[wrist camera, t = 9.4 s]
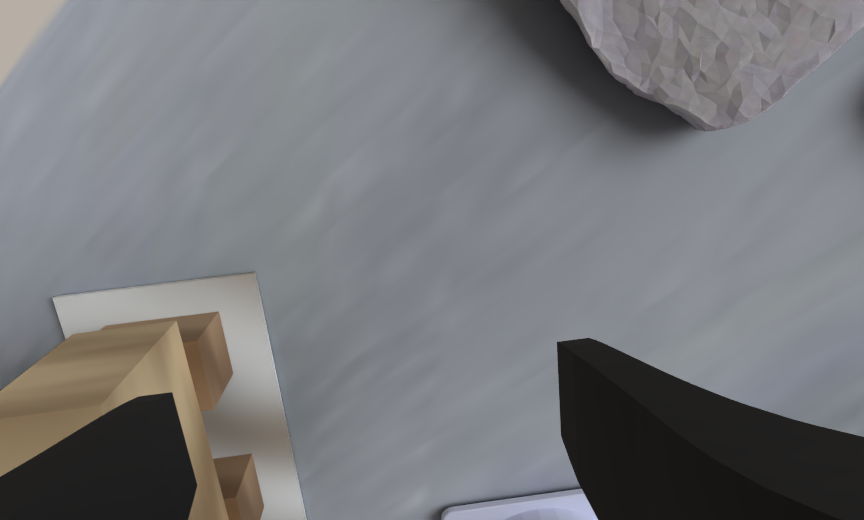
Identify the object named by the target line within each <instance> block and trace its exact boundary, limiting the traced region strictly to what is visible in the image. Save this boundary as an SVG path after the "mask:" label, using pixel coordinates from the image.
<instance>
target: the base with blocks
mask: <svg viewBox="0 0 864 520" xmlns="http://www.w3.org/2000/svg"><path fill="white" fill-rule="evenodd" d="M52 299H53V302H54V305H55V308H56V311H57V314H58V317H59V320H60V324H61V327H62V330H63V333H64V336H65V339H67V338H68V337H70V336H71V335H72V334H77V333H85V332H93V331H100V330H108V329H116V328H123V327H131V326H139V325H146V324H154V323H162V322H170V321H177V324H178V328H179V332H180V336H181V339H182V343H183V347H184V351H185V355H186V358H187V362H188V366H189V370H190V374H191V377H192V381H193V385H194V389H195V393H196V396H197V400H198V404H199V408H200V412H201V415H202V419H203V423H204V427H205V431H206V434H207V438H208V442H209V446H210V450H211V453H212V457H213V461H214V465H215V468H216V472H217V476H218V480H219V484H220V487H221V491H222V495H223V499H224V503H225V506H226V510H227V514H228V518H229V520H307V518H306V513H305V509H304V504H303V499H302V494H301V489H300V485H299V480H298V475H297V470H296V465H295V460H294V456H293V451H292V446H291V441H290V436H289V432H288V427H287V422H286V417H285V412H284V407H283V403H282V398H281V393H280V388H279V383H278V379H277V374H276V369H275V364H274V359H273V354H272V350H271V345H270V340H269V335H268V330H267V326H266V321H265V316H264V311H263V306H262V301H261V297H260V292H259V287H258V282H257V277H256V273H255V272H249V273H240V274H232V275H224V276H216V277H208V278H200V279H191V280H183V281H175V282H167V283H159V284H150V285H142V286H134V287H126V288H118V289H110V290H101V291H93V292H85V293H77V294H69V295H60V296H55V297H53V298H52Z"/></svg>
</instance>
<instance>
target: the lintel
mask: <svg viewBox="0 0 864 520" xmlns="http://www.w3.org/2000/svg"><path fill="white" fill-rule="evenodd" d="M169 392H172V393H173V397H174V401H175V404H176V408H177V412H178V415H179V419H180V423H181V426H182V430H183V434H184V437H185V441H186V445H187V449H188V452H189V456H190V460H191V463H192V467H193V471H194V474H195V478H196V482H197V489H196V493H195V496H194V500H193V504H192V508H191V511H190V515H189V518H188V520H229V518H228V514H227V510H226V506H225V503H224V499H223V495H222V491H221V487H220V484H219V480H218V476H217V472H216V468H215V465H214V461H213V457H212V453H211V450H210V446H209V442H208V438H207V434H206V431H205V427H204V423H203V419H202V415H201V412H200V408H199V404H198V400H197V396H196V393H195V389H194V385H193V381H192V377H191V374H190V370H189V366H188V362H187V358H186V355H185V351H184V347H183V343H182V339H181V336H180V332H179V328H178V324H177V321H170V322H162V323H154V324H146V325H139V326H131V327H123V328H116V329H108V330H100V331H93V332H85V333H77V334H72V335H71V336H70V337H68V338H67V339H66V340H65V341H63V342H62V343H61V344H59V345H58V346H57V347H56V348H54V349H53V350H52V351H51V352H49V353H48V354H47V355H45V356H44V357H43V358H42V359H40V360H39V361H38V362H37V363H35V364H34V365H33V366H32V367H30V368H29V369H28V370H26V371H25V372H24V373H23V374H21V375H20V376H19V377H18V378H16V379H15V380H14V381H12V382H11V383H10V384H9V385H7V386H6V387H5V388H4V389H2V390H1V391H0V476H2V475H4V474H6V473H7V472H9V471H11V470H13V469H14V468H16V467H18V466H19V465H21V464H23V463H25V462H26V461H28V460H30V459H32V458H33V457H35V456H37V455H38V454H40V453H41V452H43V451H45V450H46V449H48V448H50V447H51V446H53V445H54V444H56V443H58V442H59V441H61V440H63V439H64V438H66V437H68V436H69V435H71V434H72V433H74V432H76V431H77V430H79V429H81V428H82V427H84V426H86V425H87V424H89V423H90V422H92V421H94V420H95V419H97V418H99V417H100V416H102V415H104V414H106V413H107V412H109V411H111V410H113V409H114V408H116V407H118V406H120V405H122V404H124V403H126V402H128V401H130V400H132V399H134V398H136V397H139V396H146V395H154V394H161V393H169Z"/></svg>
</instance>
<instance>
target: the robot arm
mask: <svg viewBox="0 0 864 520" xmlns="http://www.w3.org/2000/svg"><path fill="white" fill-rule="evenodd" d="M557 352H558V375H559V397H560V420H561V436H562V439H563V442H564V445H565V448H566V450H567V453H568V456H569V459H570V462H571V464H572V467H573V469H574V472H575V475H576V477H577V480H578V482H579V484H580V486H581V488H582V489H575V490H568V491H560V492H553V493H546V494H539V495H532V496H525V497H518V498H511V499H504V500H496V501H489V502H482V503H475V504H468V505H461V506H454V507H450V508H447V509H446V510H444V511H443V513H442V515H441V520H864V437H861V436H857V435H853V434H849V433H845V432H840V431H836V430H832V429H828V428H824V427H819V426H815V425H811V424H808V423H804V422H800V421H797V420H793V419H790V418H786V417H783V416H780V415H777V414H773V413H770V412H767V411H764V410H761V409H758V408H755V407H751V406H748V405H745V404H742V403H739V402H737V401H734V400H731V399H728V398H726V397H723V396H720V395H718V394H715V393H713V392H710V391H708V390H705V389H703V388H700V387H698V386H695V385H693V384H690V383H688V382H686V381H683V380H681V379H679V378H677V377H674V376H672V375H670V374H668V373H665V372H663V371H661V370H659V369H657V368H654V367H652V366H650V365H648V364H646V363H644V362H642V361H640V360H638V359H635V358H633V357H631V356H629V355H627V354H625V353H623V352H621V351H619V350H617V349H615V348H612V347H610V346H608V345H606V344H604V343H601V342H599V341H596V340H593V339H590V338H585V339H577V340H569V341H562V342H557ZM196 489H197V482H196V478H195V474H194V471H193V467H192V463H191V460H190V456H189V452H188V449H187V445H186V441H185V437H184V434H183V430H182V426H181V423H180V419H179V415H178V412H177V408H176V404H175V401H174V397H173V393H172V392H169V393H161V394H154V395H146V396H139V397H136V398H134V399H132V400H130V401H128V402H126V403H124V404H122V405H120V406H118V407H116V408H114V409H113V410H111V411H109V412H107V413H106V414H104V415H102V416H100V417H99V418H97V419H95V420H94V421H92V422H90V423H89V424H87V425H86V426H84V427H82V428H81V429H79V430H77V431H76V432H74V433H72V434H71V435H69V436H68V437H66V438H64V439H63V440H61V441H59V442H58V443H56V444H54V445H53V446H51V447H50V448H48V449H46V450H45V451H43V452H41V453H40V454H38V455H37V456H35V457H33V458H32V459H30V460H28V461H26V462H25V463H23V464H21V465H19V466H18V467H16V468H14V469H13V470H11V471H9V472H7V473H6V474H4V475H2V476H0V520H188V518H189V515H190V511H191V508H192V504H193V500H194V496H195V493H196Z"/></svg>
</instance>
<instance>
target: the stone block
mask: <svg viewBox="0 0 864 520" xmlns="http://www.w3.org/2000/svg"><path fill="white" fill-rule="evenodd" d="M560 2H561V3H562V5H563V6H564V8H565V9H566V10H567V11H568V12H569V13H570V14H571V15H572V17H573V18H574V19H575V20H576V22H577V24H578V25H579V27H580V29H581V31H582V33H583V35H584V36H585V39H586V42H587V44H588V45H589V46H590V47H591V48H592V49H593V51H594V52H595V53H596V55H597V56H598V57H599V59H600V60H601V61H602V63H603V64H604V66H605V67H606V69H607V70H608V72H609V73H610V74H611V75H612V76H613V77H614V78H615V79H616V80H618V81H619V82H621V83H623V84H625V85H626V86H627V88H628V89H630V90H631V91H633V93H634V94H635V95H638V96H641V97H643V98H646V99H649V100H651V101H654V102H657V103H660V104H662V105H664V106H666V107H667V108H668V109H669V110H671V111H672V112H674V113H675V114H676V115H679V116H680V117H682V118H683V119H685V120H687V121H688V122H689V123H690V124H691V125H693V126H694V128H695V129H699V130H702V131H715V130H720V129H726V128H729V127H732V126H735V125H739V124H742V123H745V122H748V121H749V120H751V119H752V118H754V117H756V116H758V115H760V114H762V113H763V112H765V111H767V110H768V109H769V108H770V107H771V106H773V105H774V104H775V103H777V102H778V101H779V100H780V99H782V98H783V97H784V96H785V95H786V93H787V92H788V91H789V90H790V89H792V88H793V87H794V86H795V85H796V84H797V82H799V81H801V80H802V79H803V78H804V77H805V76H806V75H808V74H809V73H811V72H812V71H813V70H814V69H815V68H816V67H818V66H819V65H820V64H822V63H823V62H824V61H825V60H826V59H827V58H829V57H830V56H831V55H832V54H833V53H834V52H835V51H836V50H838V49H839V48H840V47H841V46H842V45H843V44H844V43H845V42H846V41H847V40H848V39H849V38H850V37H851V36H853V35H854V34H855V33H856V32H857V31H859V30H860V29H861V28H862V27H863V26H864V0H560Z"/></svg>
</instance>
